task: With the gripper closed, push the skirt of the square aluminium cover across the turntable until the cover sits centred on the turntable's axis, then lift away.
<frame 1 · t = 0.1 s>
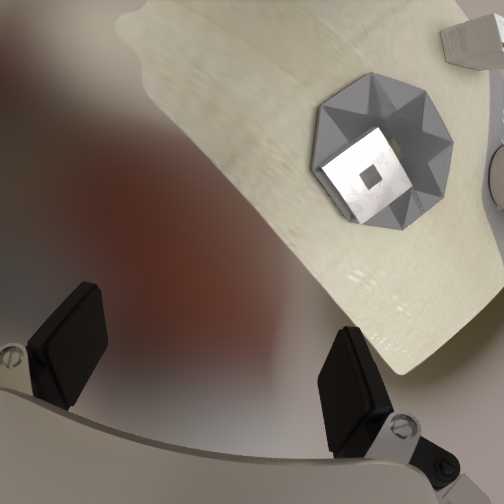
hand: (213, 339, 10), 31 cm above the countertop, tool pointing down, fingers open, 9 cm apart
cover: (364, 173, 35), point 3 cm above the countertop, touching turntable
skincare box: (458, 52, 28), on the countertop
turntable: (389, 152, 35), point 2 cm above the countertop, hinge at 0.0°, touching cover
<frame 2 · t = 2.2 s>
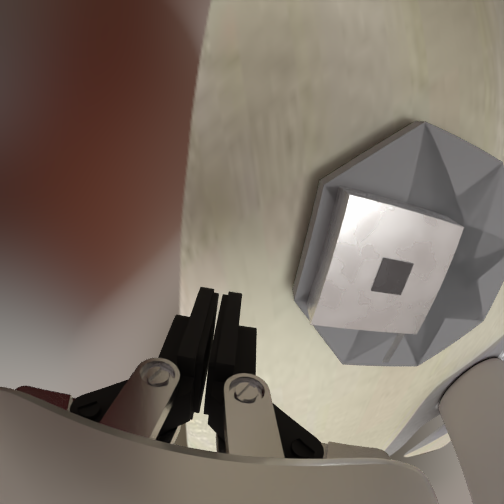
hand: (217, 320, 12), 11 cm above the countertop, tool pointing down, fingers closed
cover: (379, 260, 20), point 3 cm above the countertop, touching turntable
turntable: (426, 265, 20), point 2 cm above the countertop, hinge at 0.0°, touching cover
cylinder vase: (470, 385, 30), on the countertop
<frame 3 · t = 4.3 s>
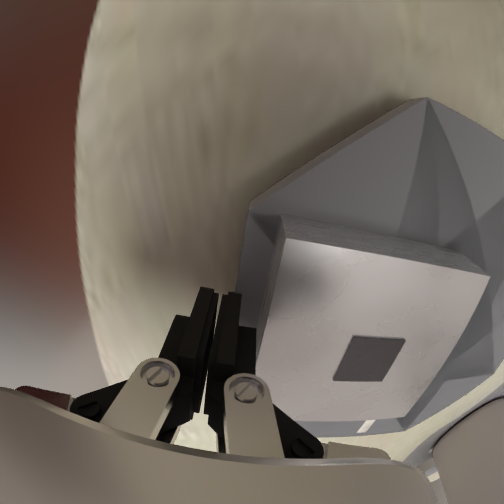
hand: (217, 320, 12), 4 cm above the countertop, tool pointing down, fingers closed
cover: (354, 324, 13), point 3 cm above the countertop, touching gripper, turntable
turntable: (424, 320, 14), point 2 cm above the countertop, hinge at 0.0°, touching cover
cylinder vase: (470, 426, 23), on the countertop
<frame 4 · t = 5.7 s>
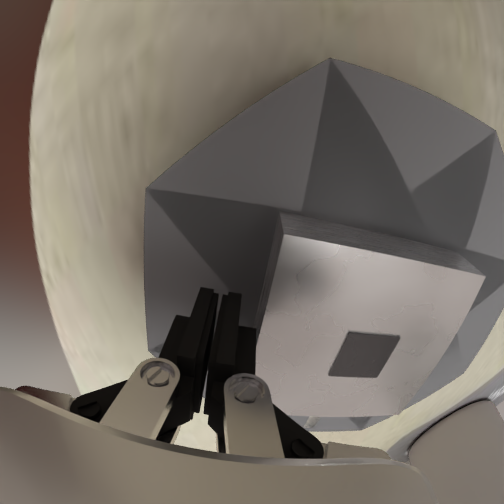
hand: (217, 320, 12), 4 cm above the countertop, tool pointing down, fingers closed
cover: (350, 320, 13), point 3 cm above the countertop, touching gripper, turntable
turntable: (362, 306, 14), point 2 cm above the countertop, hinge at 0.1°, touching cover
cylinder vase: (451, 429, 24), on the countertop
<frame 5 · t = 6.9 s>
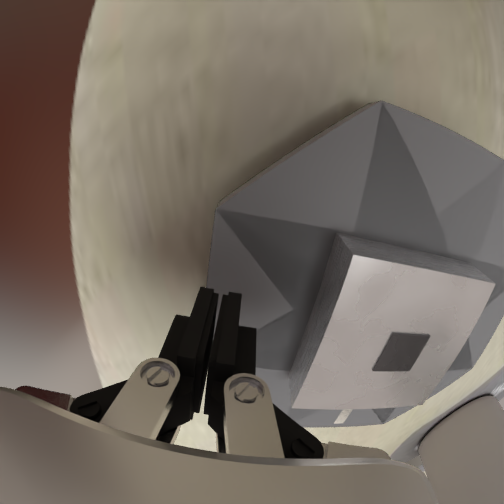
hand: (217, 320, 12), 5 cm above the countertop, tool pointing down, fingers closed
cover: (385, 324, 15), point 3 cm above the countertop, touching turntable
turntable: (392, 311, 15), point 2 cm above the countertop, hinge at 0.2°, touching cover
cylinder vase: (457, 424, 25), on the countertop
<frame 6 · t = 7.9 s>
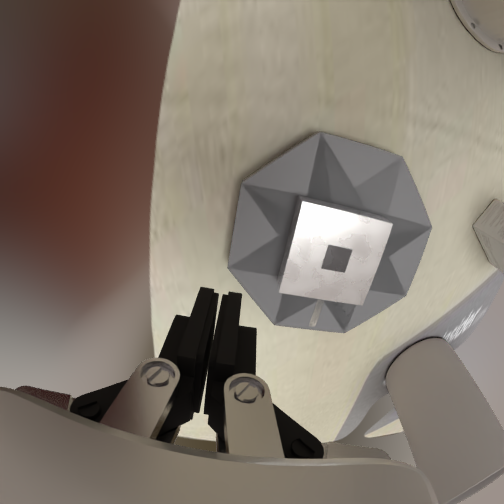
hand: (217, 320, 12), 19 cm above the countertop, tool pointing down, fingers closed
cover: (330, 248, 28), point 3 cm above the countertop, touching turntable
skincare box: (490, 230, 30), on the countertop
turntable: (336, 243, 29), point 2 cm above the countertop, hinge at 0.2°, touching cover
cylinder vase: (417, 364, 39), on the countertop
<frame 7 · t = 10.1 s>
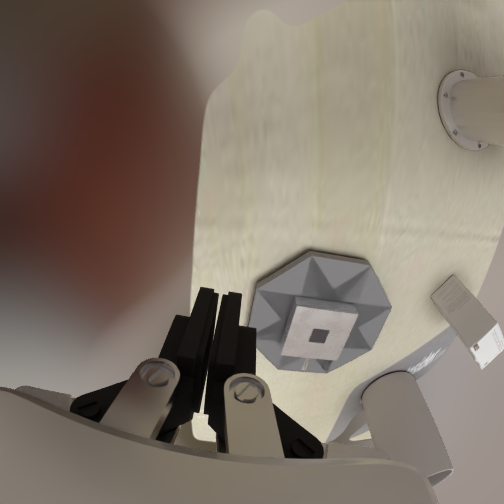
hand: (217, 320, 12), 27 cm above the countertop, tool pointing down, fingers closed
cover: (316, 325, 41), point 3 cm above the countertop, touching turntable
skincare box: (447, 296, 43), on the countertop
turntable: (320, 320, 42), point 2 cm above the countertop, hinge at 0.2°, touching cover
cylinder vase: (387, 389, 52), on the countertop
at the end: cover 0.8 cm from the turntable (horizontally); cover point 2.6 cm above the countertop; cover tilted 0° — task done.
